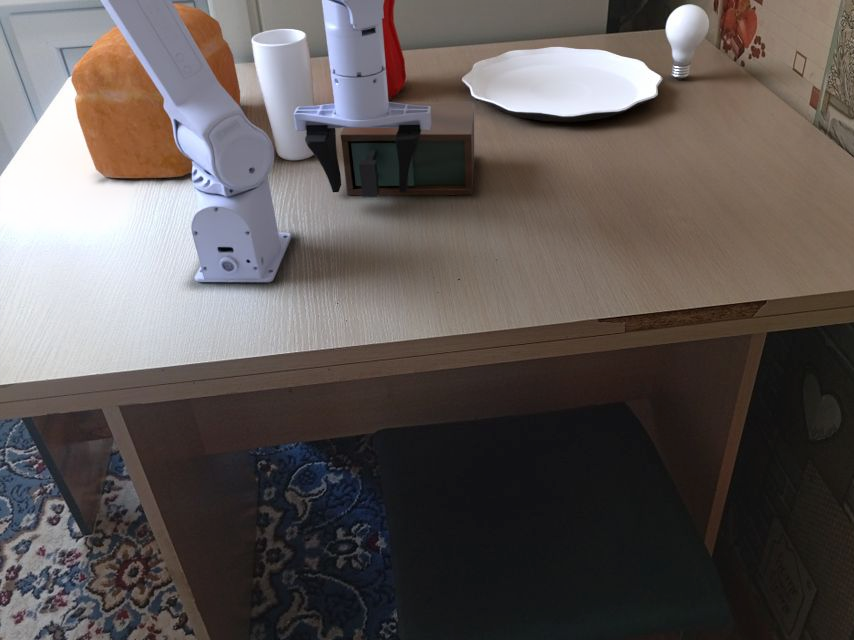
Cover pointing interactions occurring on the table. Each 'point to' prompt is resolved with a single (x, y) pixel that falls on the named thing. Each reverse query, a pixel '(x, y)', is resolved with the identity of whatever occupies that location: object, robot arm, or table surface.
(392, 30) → the water bottle
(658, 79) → the plate
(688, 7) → the lightbulb
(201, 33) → the bread
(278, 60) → the white cylinder
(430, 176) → the cupboard
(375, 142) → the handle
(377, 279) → the table surface
